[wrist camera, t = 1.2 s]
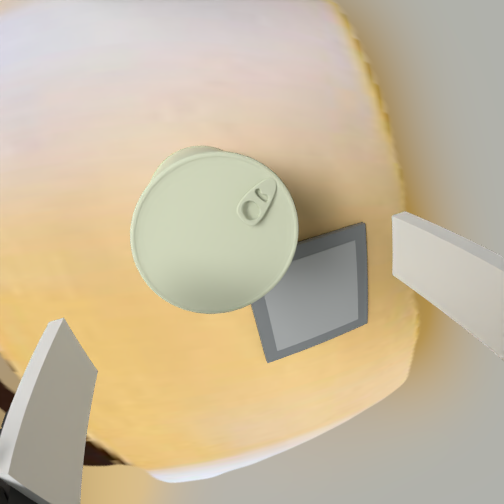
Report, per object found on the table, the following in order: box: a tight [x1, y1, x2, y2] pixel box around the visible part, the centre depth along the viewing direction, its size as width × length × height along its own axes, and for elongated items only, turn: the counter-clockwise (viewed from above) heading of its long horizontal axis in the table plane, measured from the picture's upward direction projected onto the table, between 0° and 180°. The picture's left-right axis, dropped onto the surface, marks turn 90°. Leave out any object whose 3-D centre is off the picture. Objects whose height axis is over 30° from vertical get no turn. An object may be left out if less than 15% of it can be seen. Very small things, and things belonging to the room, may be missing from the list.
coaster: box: [251, 222, 368, 363], centre depth 32 cm, size 14×14×1 cm
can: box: [130, 146, 299, 314], centre depth 20 cm, size 9×9×12 cm
